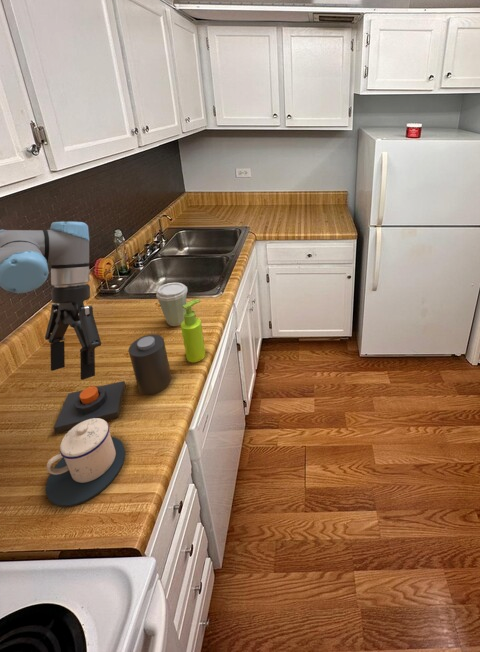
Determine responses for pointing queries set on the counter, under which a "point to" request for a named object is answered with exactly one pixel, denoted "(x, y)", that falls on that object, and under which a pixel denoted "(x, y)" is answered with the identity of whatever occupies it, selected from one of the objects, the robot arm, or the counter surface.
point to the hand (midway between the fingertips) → (72, 373)
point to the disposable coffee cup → (172, 302)
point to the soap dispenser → (192, 334)
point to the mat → (72, 493)
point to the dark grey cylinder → (150, 364)
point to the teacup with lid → (85, 451)
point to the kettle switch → (89, 395)
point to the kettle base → (91, 407)
